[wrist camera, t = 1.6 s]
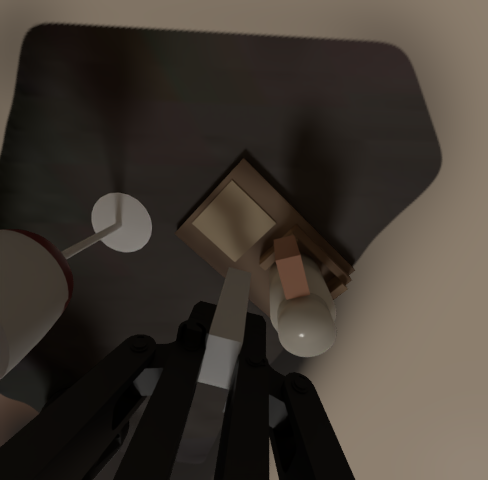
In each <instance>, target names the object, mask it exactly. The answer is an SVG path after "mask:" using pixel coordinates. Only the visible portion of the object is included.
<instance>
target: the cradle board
mask: <svg viewBox="0 0 488 480" xmlns="http://www.w3.org/2000/svg"><path fill="white" fill-rule="evenodd" d="M174 234H175V235H177V236H178V237H179V238H180V239H181V240H182V241H183V242H185V243H186V244H187V245H188V246H189V247H190V248H191V249H193V250H194V251H195V252H196V253H197V254H198V255H199V256H200V257H202V258H203V259H204V260H205V261H206V262H207V263H208V264H210V265H211V266H212V267H213V268H214V269H215V270H216V271H218V272H219V273H220V274H221V275H222V276H223V277H224V278H225V279H226V275H227V272H228V269H229V267H230V268H234V269H238V270H242V271H246V272H249V273H251V280H250V288H249V297H248V299H249V300H250V301H252V302H253V303H254V304H255V305H256V306H257V307H258V308H260V309H261V310H262V311H263V312H264V313H265V314H266V315H268V316H269V317H270V293H269V270H270V267H271V265H272V264H273V263H274V262H276V261H275V251H274V240H275V239H279V238H283V237H287V236H291V235H294V236H295V239H296V242H297V245H298V249H299V252H303V253H306V254H308V255H309V256H311V257H312V258H313V259H314V260H315V261H316V263H317V265H318V267H319V269H320V271H321V274H322V276H323V278H324V281H325V283H326V285H327V287H328V290H329V292H330V294H331V297H332V299H333V300H334V299H335V298H337V297H338V296H339V295H341V294H342V293H343V292H345V291H346V290H347V287H346V284H347V283H349V282H350V281H351V278H350V276H349V275H350V274H351V273H352V272H353V271H355V270H354V268H353V267H352V266H351V265H350V264H349V263H348V262H347V261H346V260H345V259H344V258H343V257H342V256H341V255H340V254H339V253H338V252H337V251H336V250H335V249H334V248H333V247H332V246H331V245H330V244H329V243H328V242H327V241H326V240H325V239H324V238H323V237H322V236H321V235H320V234H319V233H318V232H317V231H316V230H315V229H314V228H313V227H312V226H311V225H310V224H309V223H308V222H307V221H306V220H305V219H304V218H303V217H302V216H301V215H300V214H299V213H298V212H297V211H296V209H295V208H294V207H293V206H292V205H291V204H290V203H289V202H288V201H287V200H286V199H285V198H284V197H283V196H282V195H281V194H280V193H279V192H278V191H277V190H276V189H275V188H274V187H273V186H272V185H271V184H270V183H269V182H268V181H267V180H266V179H265V178H264V177H263V176H262V175H261V174H260V173H259V172H258V171H257V170H256V169H255V168H254V167H253V166H252V165H251V164H250V163H249V162H248V161H247V160H246V159H245V158H243V159H242V160H241V162H240V163H239V164H238V165H237V166H236V167H235V168H234V169H233V170H232V171H231V172H230V174H229V175H228V176H227V177H226V178H225V179H224V180H223V181H222V182H221V183H220V184H219V185H218V187H217V188H216V189H215V190H214V191H213V192H212V193H211V194H210V195H209V196H208V197H207V199H206V200H205V201H204V202H203V203H202V204H201V205H200V206H199V207H198V208H197V209H196V211H195V212H194V213H193V214H192V215H191V216H190V217H189V218H188V219H187V220H186V221H185V223H184V224H183V225H182V226H181V227H180V228H179V229H178V230H177V231H176V232H175V233H174Z"/></svg>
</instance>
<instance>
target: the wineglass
mask: <svg viewBox="0 0 488 480" xmlns="http://www.w3.org/2000/svg"><path fill="white" fill-rule="evenodd" d="M92 224H93V228H94V231H95V232H96V234H94V235H92V236H90V237H88V238H87V239H85V240H83V241H81V242H79V243H77V244H75V245H73V246H71V247H70V248H68V249H66V250H64V251H62V252H60V251H59V249H58V248H57V247H56V246H54V245H53V244H52V243H51V242H50V241H48V240H47V239H45V238H44V237H42V236H40V235H38V234H35V233H32V232H29V231H24V230H19V229H1V230H0V379H2V378H3V377H4V376H5V375H6V374H7V373H8V372H9V371H10V370H11V369H12V368H13V367H14V366H16V365H17V364H18V363H19V362H20V361H21V360H22V359H23V358H24V357H25V356H26V355H27V354H28V353H29V352H30V350H31V349H32V348H33V347H34V346H35V345H36V344H37V343H38V342H39V341H40V340H41V339H42V338H43V337H44V336H45V335H46V333H47V332H48V331H49V330H50V329H51V327H52V326H53V325H54V323H55V322H56V321H57V320H58V318H59V317H60V316H61V314H62V313H63V312H64V310H65V309H66V307H67V305H68V303H69V301H70V299H71V297H72V292H73V275H72V272H71V269H70V266H69V264H68V262H67V260H66V259H68V258H70V257H71V256H73V255H75V254H76V253H78V252H80V251H82V250H83V249H85V248H87V247H88V246H90V245H92V244H94V243H95V242H97V241H99V240H101V241H102V242H103V243H105V244H106V245H107V246H108V247H110V248H112V249H114V250H117V251H121V252H134V251H136V250H139V249H141V248H142V247H143V246H144V245H145V244H146V243H147V242H148V240H149V238H150V236H151V231H152V223H151V219H150V215H149V214H148V212H147V210H146V208H145V207H144V206H143V205H142V204H141V203H140V202H139V201H138V200H137V199H135V198H133V197H131V196H130V195H127V194H123V193H109V194H107V195H105V196H103V197H101V198H100V199H99V200H98V201H97V202H96V203H95V205H94V208H93V210H92Z"/></svg>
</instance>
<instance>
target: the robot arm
mask: <svg viewBox="0 0 488 480" xmlns="http://www.w3.org/2000/svg"><path fill="white" fill-rule="evenodd" d="M250 280H251V273H249V272H246V271H242V270H238V269H234V268H230V267H229V269H228V272H227V275H226V279H225V282H224V285H223V288H222V292H221V295H220V298H219V302H218V305H214V304H211V303H207V302H203V301H200V302H198V303H197V304H196V305H194V308H193V310H192V312H191V314H190V317H189V319H188V320H187V321H184V322H182V323H181V324H180V326H179V328H178V334H177V339H176V341H174V342H172V343H169V344H156V342H155V340H154V339H153V338H151V337H150V336H147V335H134V336H131V337H129V338H127V339H126V340H125V341H124V342H122V343H121V344H120V345H119V346H118V347H117V348H115V349H114V350H113V351H112V352H111V353H110V354H108V355H107V356H106V357H105V358H104V359H103V360H101V361H100V362H99V363H98V364H97V365H96V366H94V367H93V368H92V369H91V370H90V371H89V372H88V373H86V374H85V375H84V376H83V377H82V378H81V379H79V380H78V381H77V382H76V383H75V384H74V385H72V386H71V387H70V388H67V389H63V390H60V391H58V392H57V393H55V394H54V395H53V396H52V397H51V398H50V399H49V401H48V402H47V403H46V404H45V405H44V407H43V408H42V410H41V411H40V413H39V415H37V416H36V417H35V418H34V419H33V420H32V421H30V422H29V423H28V424H27V425H26V426H25V427H23V428H22V429H21V430H20V431H19V432H18V433H16V434H15V435H14V436H13V437H12V438H11V439H9V440H8V442H6V443H5V444H4V445H2V446H1V447H0V480H93V479H94V478H95V477H96V476H97V475H98V474H99V472H100V471H101V470H102V469H103V468H104V467H105V465H106V464H107V463H108V462H109V461H110V460H111V459H112V458H113V456H114V455H115V454H116V453H117V452H118V450H119V449H120V447H121V446H122V444H123V442H124V440H125V438H126V435H127V433H128V429H129V424H128V420H129V419H130V418H131V416H132V415H133V414H134V413H135V411H136V410H137V409H138V408H139V406H140V405H141V404H142V403H143V401H144V400H145V399H146V397H147V395H151V397H150V400H149V402H148V404H147V406H146V408H145V411H144V413H143V415H142V417H141V419H140V422H139V424H138V426H137V428H136V431H135V433H134V435H133V437H132V439H131V442H130V444H129V446H128V448H127V450H126V453H125V455H124V457H123V459H122V461H121V464H120V466H119V468H118V470H117V472H116V475H115V477H114V479H113V480H170V477H171V473H172V470H173V466H174V463H175V459H176V456H177V453H178V449H179V446H180V442H181V439H182V435H183V432H184V428H185V425H186V421H187V418H188V414H189V411H190V407H191V404H192V400H193V397H194V393H195V389H196V385H197V382H202V383H206V384H210V385H214V386H218V387H221V388H225V389H229V387H230V389H229V394H228V397H227V400H226V403H225V407H224V410H223V412H225V413H224V419H223V425H222V432H221V438H220V444H219V450H218V456H217V462H216V469H215V475H214V480H269V437H270V440H271V446H272V450H273V454H274V459H275V463H276V467H277V472H278V476H279V480H355V478H354V476H353V473H352V471H351V469H350V467H349V465H348V462H347V460H346V457H345V455H344V453H343V451H342V448H341V446H340V444H339V442H338V439H337V437H336V435H335V432H334V430H333V428H332V426H331V423H330V421H329V419H328V417H327V414H326V412H325V410H324V408H323V405H322V403H321V401H320V398H319V396H318V394H317V391H316V389H315V387H314V385H313V384H312V382H311V381H310V380H309V379H308V378H307V377H306V376H304V375H302V374H300V373H295V372H293V373H289V374H288V375H286V377H285V376H283V375H282V374H280V373H278V372H277V371H275V370H274V369H272V368H271V367H270V365H269V363H268V360H267V358H266V322H265V320H264V318H263V316H260V315H256V314H252V313H248V312H247V305H248V297H249V288H250Z"/></svg>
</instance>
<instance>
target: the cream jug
mask: <svg viewBox="0 0 488 480" xmlns="http://www.w3.org/2000/svg"><path fill="white" fill-rule="evenodd" d="M274 251H275V261H276V262H274V263H273V264H272V265H271V267H270V270H269V293H270V318H271V322H272V324H273V326H274V328H275V329H276V330H277V331H278V335H279V340H280V342H281V344H282V346H283V347H284V348H285V349H286V350H287V351H289V352H290V353H292V354H294V355H297V356H301V357H313V356H317V355H320V354H322V353H324V352H326V351H327V350H328V349H330V347H331V346H332V345H333V344H334V342H335V340H336V336H337V330H336V326H335V323H334V322H335V319H336V306H335V304H334V301H333V299H332V297H331V294H330V292H329V290H328V287H327V285H326V283H325V281H324V278H323V276H322V274H321V271H320V269H319V267H318V265H317V263H316V261H315V260H314V259H313V258H312V257H311V256H309V255H308V254H306V253H303V252H299V249H298V245H297V242H296V239H295V236H294V235H291V236H287V237H283V238H279V239H275V240H274Z"/></svg>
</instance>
